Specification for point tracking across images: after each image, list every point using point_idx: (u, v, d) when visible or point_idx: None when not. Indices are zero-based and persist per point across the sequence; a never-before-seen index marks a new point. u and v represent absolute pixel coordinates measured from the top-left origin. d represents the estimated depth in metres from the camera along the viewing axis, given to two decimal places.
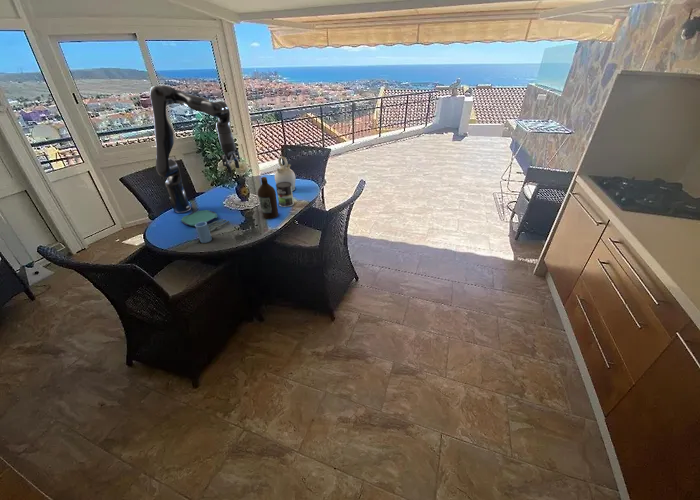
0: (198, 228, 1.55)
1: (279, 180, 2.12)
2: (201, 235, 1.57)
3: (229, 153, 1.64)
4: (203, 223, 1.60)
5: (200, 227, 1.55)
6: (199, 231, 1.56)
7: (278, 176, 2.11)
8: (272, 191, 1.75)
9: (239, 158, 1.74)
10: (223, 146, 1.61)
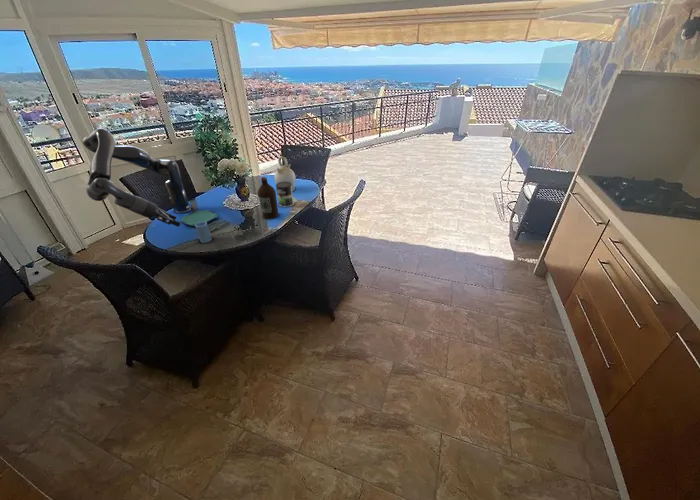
0: (198, 228, 1.55)
1: (279, 180, 2.12)
2: (201, 235, 1.57)
3: (157, 212, 1.40)
4: (203, 223, 1.60)
5: (200, 227, 1.55)
6: (199, 231, 1.56)
7: (278, 176, 2.11)
8: (272, 191, 1.75)
9: (165, 211, 1.49)
10: (147, 212, 1.36)
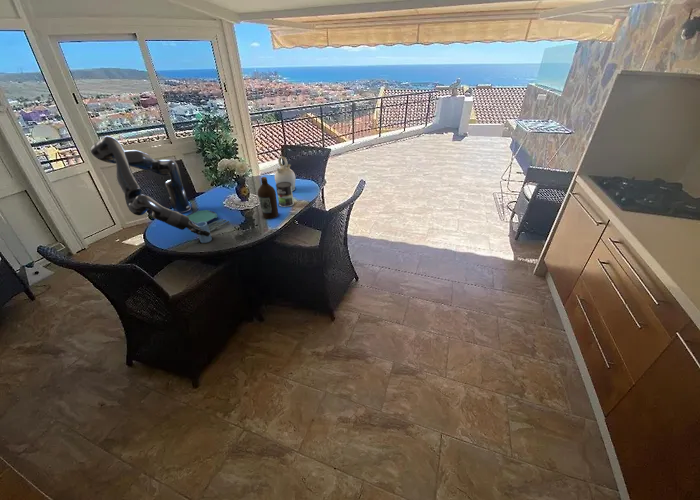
0: None
1: (279, 180, 2.12)
2: (201, 235, 1.57)
3: (189, 224, 1.51)
4: (203, 223, 1.60)
5: (200, 227, 1.55)
6: (199, 231, 1.56)
7: (278, 176, 2.11)
8: (272, 191, 1.75)
9: (196, 223, 1.61)
10: (181, 224, 1.47)
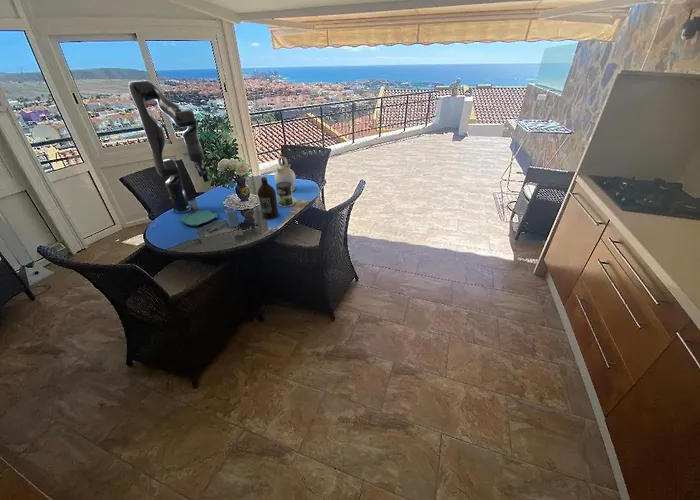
0: (228, 213, 1.69)
1: (279, 180, 2.12)
2: (230, 220, 1.72)
3: (201, 162, 1.62)
4: (232, 209, 1.74)
5: (230, 212, 1.69)
6: (228, 216, 1.70)
7: (278, 176, 2.11)
8: (272, 191, 1.75)
9: None
10: (197, 156, 1.58)
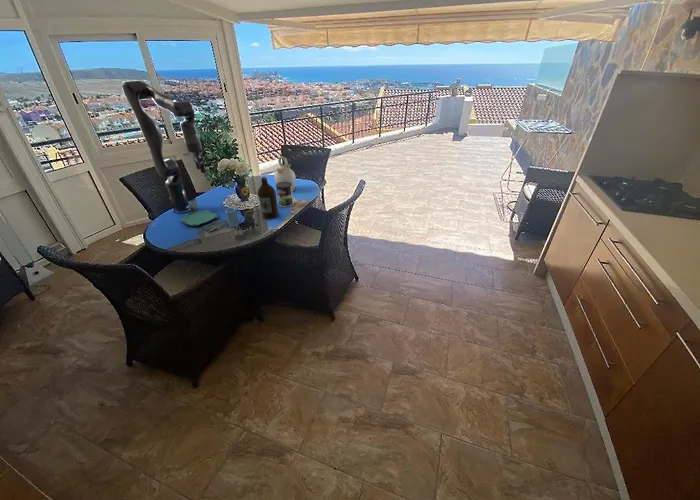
0: (228, 213, 1.69)
1: (279, 180, 2.12)
2: (230, 220, 1.72)
3: (199, 153, 1.63)
4: (232, 209, 1.74)
5: (230, 212, 1.69)
6: (228, 216, 1.70)
7: (278, 176, 2.11)
8: (272, 191, 1.75)
9: None
10: (194, 146, 1.59)
